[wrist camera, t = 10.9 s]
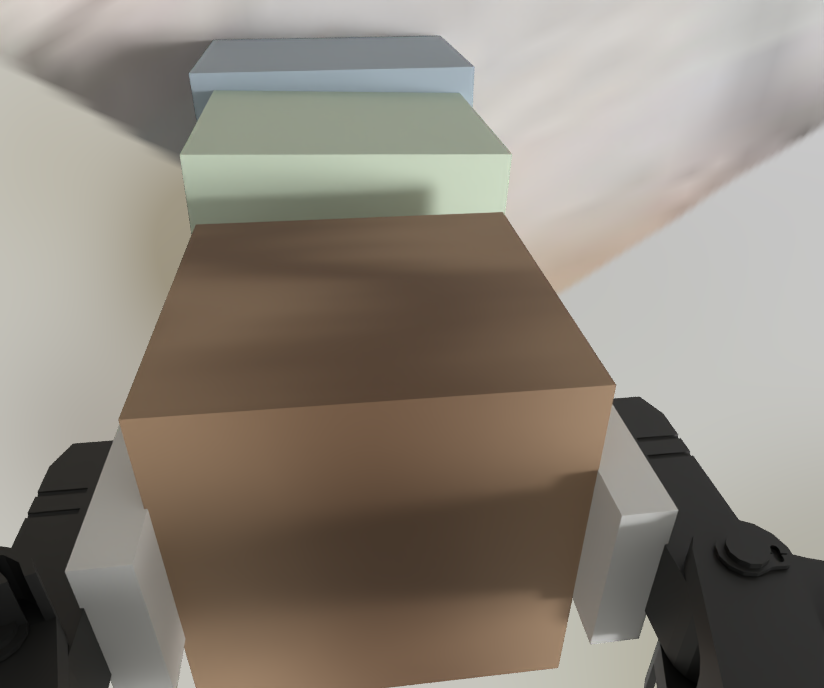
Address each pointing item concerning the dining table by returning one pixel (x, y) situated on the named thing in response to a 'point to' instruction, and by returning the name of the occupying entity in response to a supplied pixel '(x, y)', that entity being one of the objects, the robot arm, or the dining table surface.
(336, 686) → the walnut block
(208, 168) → the sage block
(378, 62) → the slate block
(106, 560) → the robot arm
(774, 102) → the dining table surface
